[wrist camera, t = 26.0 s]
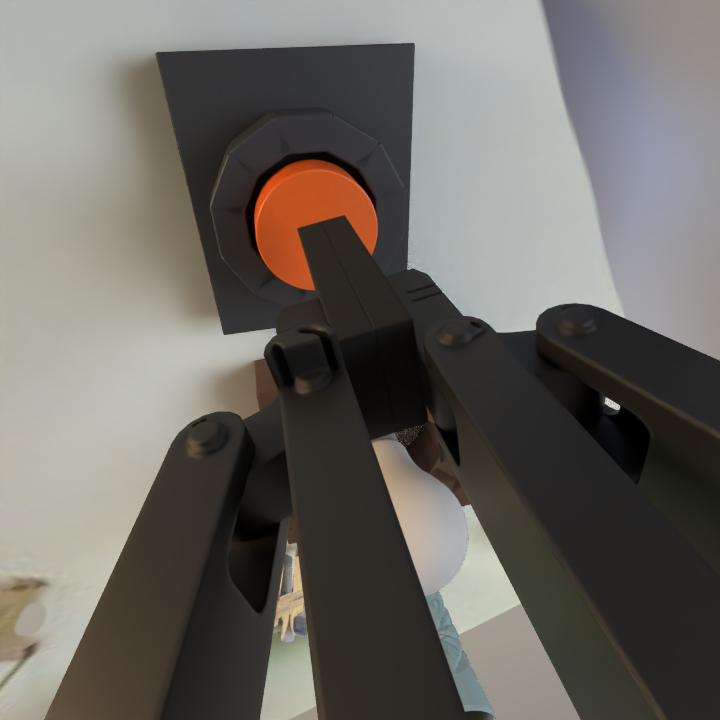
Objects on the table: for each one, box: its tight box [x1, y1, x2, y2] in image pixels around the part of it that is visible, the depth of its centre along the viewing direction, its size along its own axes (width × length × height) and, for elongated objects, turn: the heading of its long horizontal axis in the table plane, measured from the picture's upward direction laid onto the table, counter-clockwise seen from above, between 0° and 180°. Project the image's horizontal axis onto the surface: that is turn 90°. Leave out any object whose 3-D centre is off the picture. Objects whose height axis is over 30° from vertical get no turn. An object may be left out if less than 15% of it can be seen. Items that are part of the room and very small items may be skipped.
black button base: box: [156, 43, 415, 335], centre depth 19 cm, size 11×9×4 cm
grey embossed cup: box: [425, 590, 496, 720], centre depth 36 cm, size 10×10×12 cm
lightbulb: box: [371, 433, 469, 596], centre depth 25 cm, size 6×6×11 cm
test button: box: [254, 159, 378, 290], centre depth 17 cm, size 4×4×2 cm
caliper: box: [273, 548, 306, 643], centre depth 36 cm, size 21×1×6 cm, turn 129°
